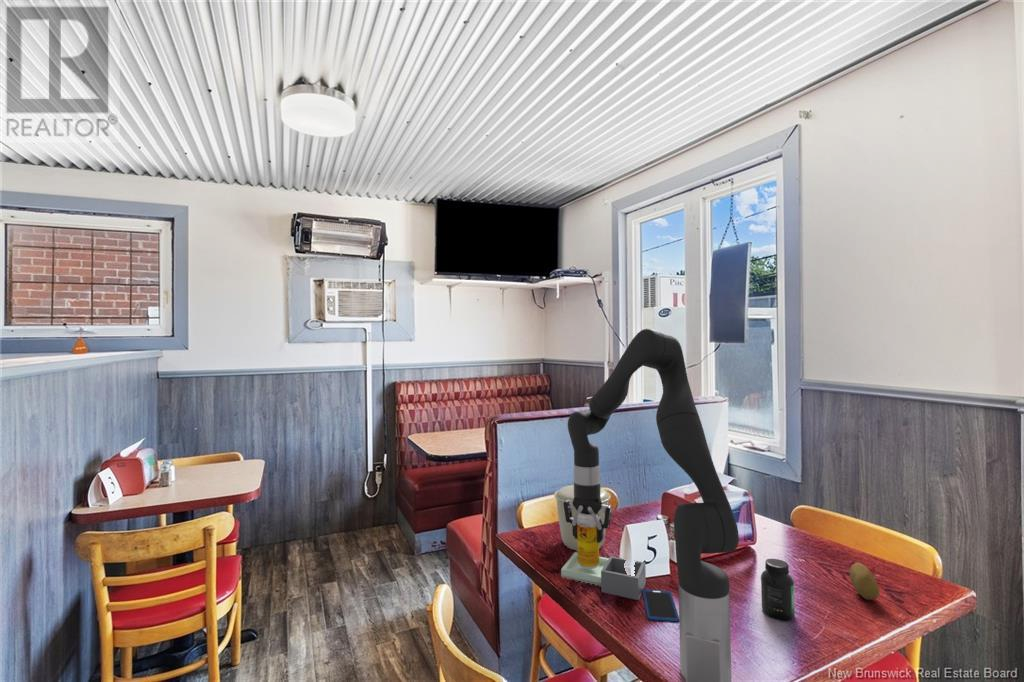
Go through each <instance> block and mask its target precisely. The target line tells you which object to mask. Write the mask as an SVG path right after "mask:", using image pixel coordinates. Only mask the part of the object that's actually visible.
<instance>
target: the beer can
mask: <svg viewBox="0 0 1024 682" xmlns="http://www.w3.org/2000/svg"><path fill="white" fill-rule="evenodd" d="M596 516H597V518H598V514H596ZM597 529H598V528H597V526H596V522H594V517H593V515H590V514H584V513H581V514H580V513H579V515H578V516H577V545H578V551H577V553H578V563H579V564H580V566H581V567H583V568H586V569H593V568H596V567H597V566H598V564H599V557H600V548H599V543H597Z"/></svg>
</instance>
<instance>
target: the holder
mask: <svg viewBox="0 0 1024 682" xmlns="http://www.w3.org/2000/svg"><path fill="white" fill-rule="evenodd" d="M608 558H609V559H608V561H607V562H606V564H605V566H604V567H603V569H602V570H601V586H600V587H601V588H600V589H601V593H603V592H605V593H604V594H608V593H609V595H612V594H614V596H617V595H618V597H622V598H626V599H632V600H636V601H639V600H640V598H641V595H642V590H643V589H645V586H646V584H647V578H646V574H647V573H646V562H645V561H638V560H635V561H636V562H635V565H634V567H635V570H634V571H635V573H634V574H635V576H631V575H627V573H626V571H625V568H624V563H625V561H626V560H624V559H625V558H623V559H622V557H617V556H611V555H610V556H609V557H608Z"/></svg>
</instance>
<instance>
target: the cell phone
mask: <svg viewBox="0 0 1024 682" xmlns="http://www.w3.org/2000/svg"><path fill="white" fill-rule="evenodd" d="M641 595H642V597H643V598H642V599H643V604H644V607H645V608H644V609H645V613H646V617H647V620H648V621H652V622H660V623H662V622H663V623H676V624H679V612H678V611H677V610H678V609H677V606H676V603H675V601H674V598H673V594H672V592H671V590H670V591H669V590H663V589H662V590H661V589H660V590H659V589H647V588H646V589H645V588H644V589H643V590H642V593H641Z"/></svg>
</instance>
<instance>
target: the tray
mask: <svg viewBox="0 0 1024 682" xmlns="http://www.w3.org/2000/svg"><path fill="white" fill-rule="evenodd" d="M609 558H610V557H608V558H607V557H604V556H599V564H598V566H597V567H596V568H593V569H586V568H583V567H581V566H580V564H579V563H578V551H574V553H573V554H572V555H571V556H570V558H569V559H568V560H567V561H566V563H565V564H564V565H563V566H562V567H561V569H560V572H561V573H560V578H561V577H566V578H570V579H574V580H577V581H576V582H578V581H581V582H580V583H583V582H585V583H584V584H587V583H590V584H589V585H592V584H595V585H594V586H597V585H599V586H598V587H601V570H602V569H603V567H604V566H605V564H606V562H607V561H608V559H609Z"/></svg>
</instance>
